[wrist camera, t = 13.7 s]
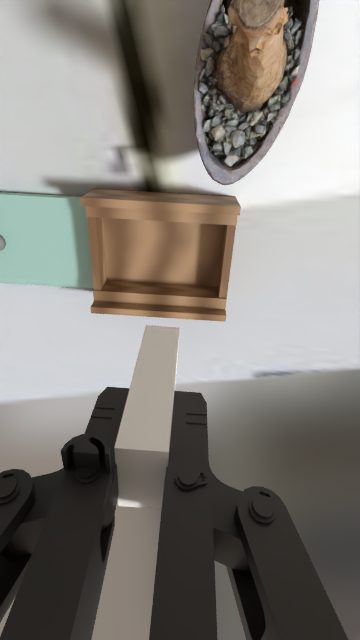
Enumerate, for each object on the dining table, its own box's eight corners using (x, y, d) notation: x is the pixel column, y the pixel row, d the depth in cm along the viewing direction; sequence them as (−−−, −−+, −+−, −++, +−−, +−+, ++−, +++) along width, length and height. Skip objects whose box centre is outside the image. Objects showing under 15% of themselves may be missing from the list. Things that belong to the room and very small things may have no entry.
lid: (-10, 276, 50) (-21, 284, 48) (-32, 189, 44) (-46, 193, 41) (101, 283, 50) (96, 291, 48) (95, 196, 44) (88, 201, 41)
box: (102, 293, 50) (91, 312, 45) (94, 188, 43) (79, 197, 37) (222, 300, 50) (225, 321, 45) (235, 196, 43) (240, 206, 37)
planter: (277, -73, 31) (381, -330, 13) (332, 113, 38) (446, 103, 20) (142, 31, 35) (87, -62, 18) (213, 182, 42) (225, 221, 25)
